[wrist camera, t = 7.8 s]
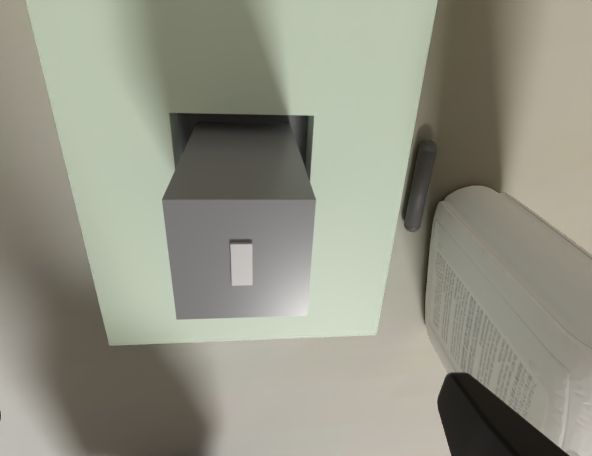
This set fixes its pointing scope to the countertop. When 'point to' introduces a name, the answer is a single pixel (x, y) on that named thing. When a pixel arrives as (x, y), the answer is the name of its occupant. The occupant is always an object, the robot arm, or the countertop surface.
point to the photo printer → (514, 310)
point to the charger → (240, 223)
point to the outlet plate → (245, 109)
